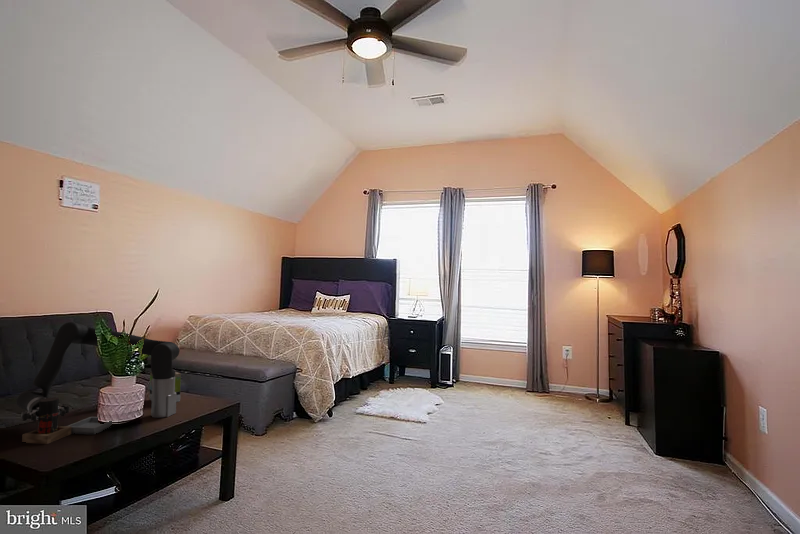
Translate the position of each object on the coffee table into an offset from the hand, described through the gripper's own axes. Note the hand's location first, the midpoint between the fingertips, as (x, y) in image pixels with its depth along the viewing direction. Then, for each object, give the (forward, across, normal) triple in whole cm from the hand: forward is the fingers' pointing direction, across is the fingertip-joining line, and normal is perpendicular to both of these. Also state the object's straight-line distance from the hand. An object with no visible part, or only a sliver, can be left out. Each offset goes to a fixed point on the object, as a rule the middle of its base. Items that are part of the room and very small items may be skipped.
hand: (49, 415), depth 163 cm
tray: (-2, +15, +9) cm, 17 cm away
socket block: (-2, 0, +9) cm, 9 cm away
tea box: (-24, +51, +9) cm, 58 cm away
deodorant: (-2, 0, +9) cm, 9 cm away
